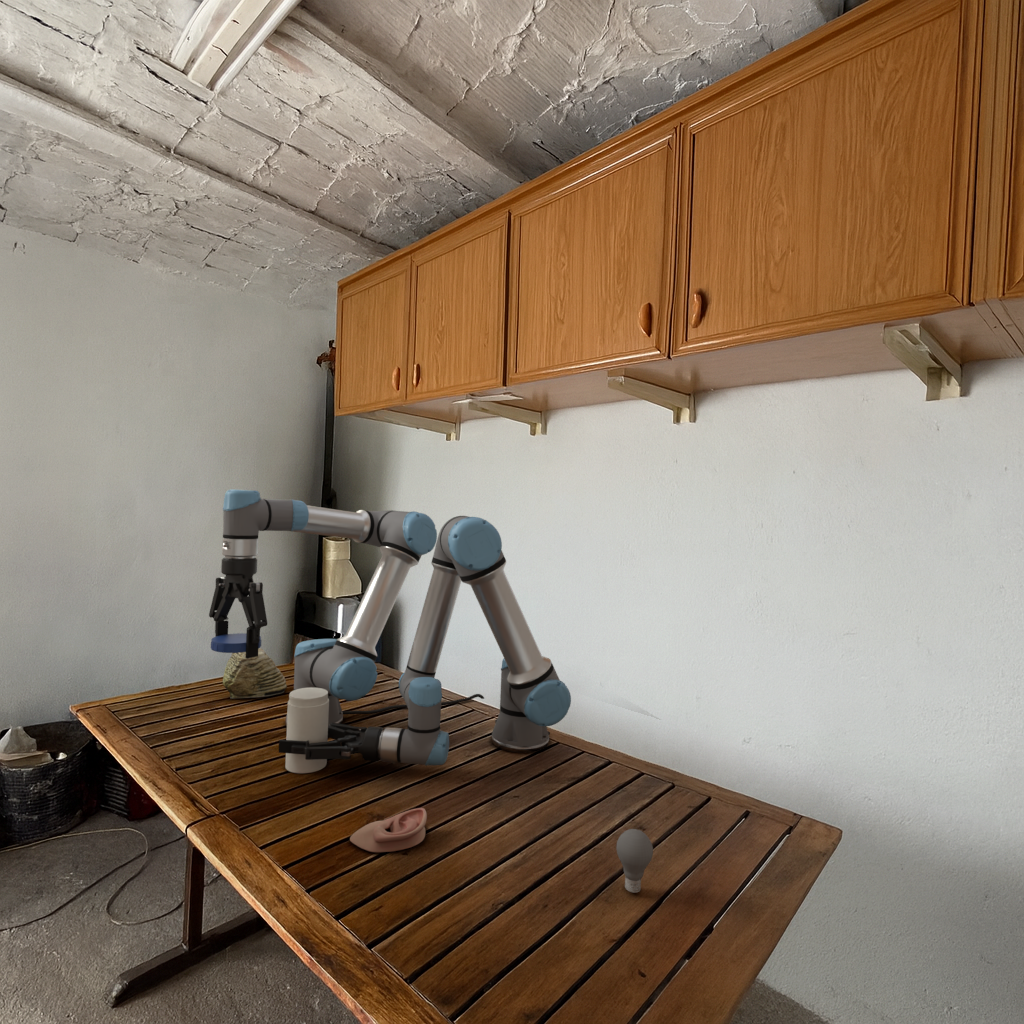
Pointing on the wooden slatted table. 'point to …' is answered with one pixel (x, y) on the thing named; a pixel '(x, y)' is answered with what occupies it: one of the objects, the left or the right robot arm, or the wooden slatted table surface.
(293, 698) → the jar
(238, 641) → the lid
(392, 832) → the anatomical model
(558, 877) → the wooden slatted table surface
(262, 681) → the fossil
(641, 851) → the light bulb
